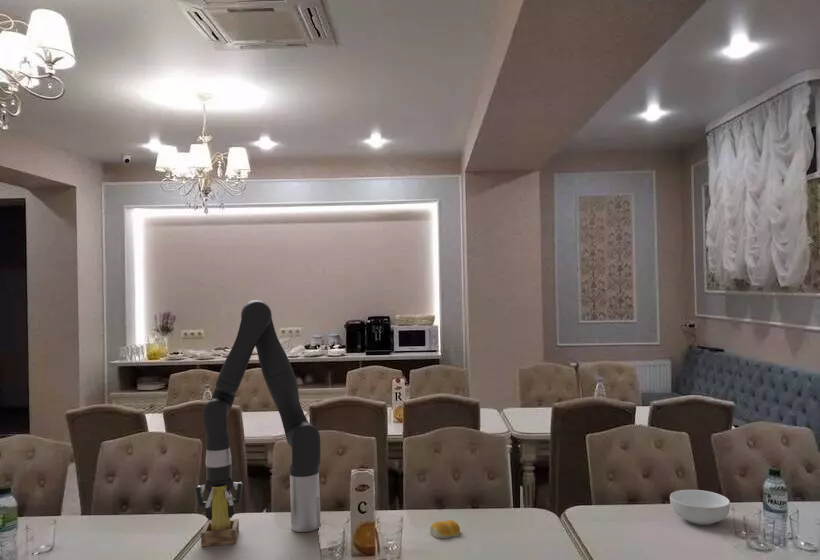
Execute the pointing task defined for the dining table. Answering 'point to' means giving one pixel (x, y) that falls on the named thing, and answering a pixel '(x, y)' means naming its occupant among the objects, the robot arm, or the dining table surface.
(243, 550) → the dining table surface
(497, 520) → the dining table surface
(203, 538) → the socket block
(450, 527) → the bread roll
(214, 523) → the vase
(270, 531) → the dining table surface
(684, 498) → the cereal bowl
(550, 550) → the dining table surface
